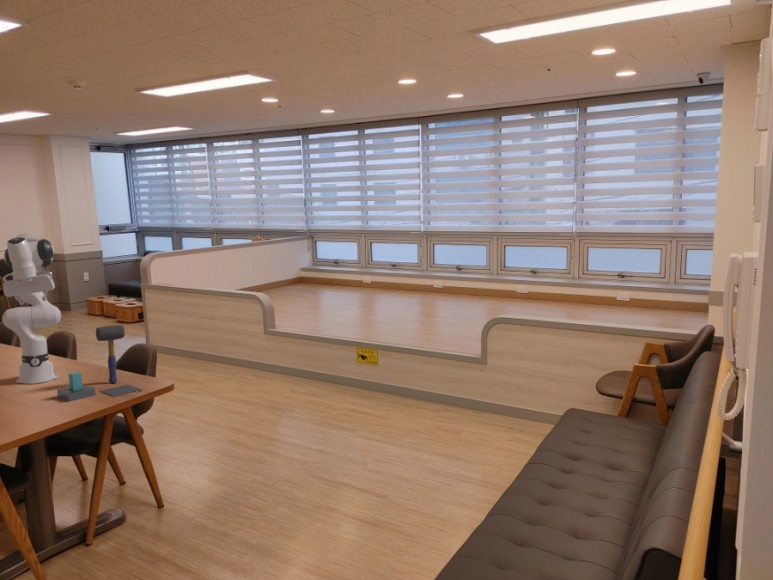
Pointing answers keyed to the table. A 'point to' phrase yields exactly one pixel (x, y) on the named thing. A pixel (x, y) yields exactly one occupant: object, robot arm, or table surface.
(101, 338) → the rubber mallet
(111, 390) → the pad
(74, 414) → the table surface
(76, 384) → the peg
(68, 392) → the socket base
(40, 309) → the robot arm
